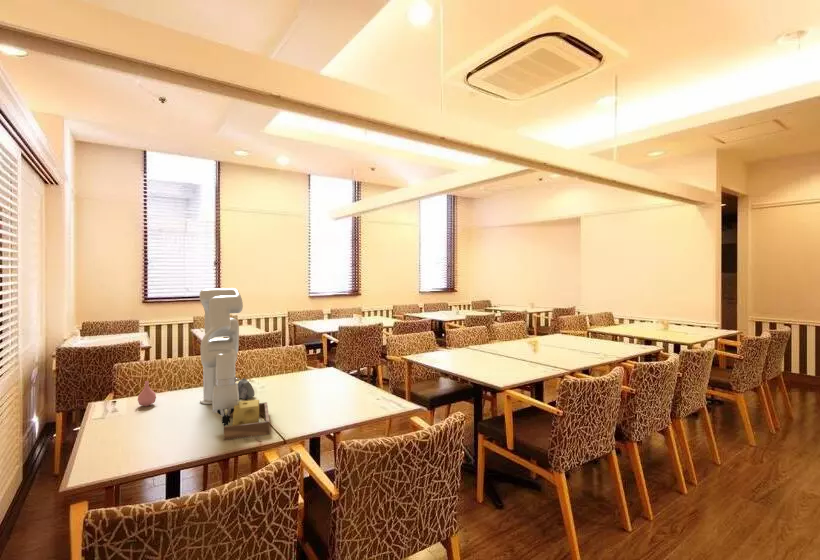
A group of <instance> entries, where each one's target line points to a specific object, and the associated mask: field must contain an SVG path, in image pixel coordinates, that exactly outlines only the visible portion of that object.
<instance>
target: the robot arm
mask: <svg viewBox="0 0 820 560" xmlns="http://www.w3.org/2000/svg"><path fill="white" fill-rule="evenodd" d="M199 301H200V304H201V306H202V308H203V310H204V335H203V337H202V339H201V342H200V346H199V347H200V363H201V365H202V368H203V369H202V371H203V372H202V375H203V376H202V377H203V381H202V384H203V386H202V387H203V388H202V389H203V393H202V394H203V397H201V398H200V399H199V403H201V404H203V405H212V409H211V412H212V413H215V414H216V413H217V414H218V415H220V416H221V424H223V427H225V426H229V423H231V418H230V415H231V413H232V412H233V411H234V406H236V405H239V401H240V397H239V390H238V382H239V381H240V377H237V376H236V363H237V362H236V361H238V353H239V347H240V346H239V343H240V325H239V321H238V319H237V318H234V317H231V315H230V314H240V313H242V312H243V307H244V304H243V302H244V301H243V298H242V296H241V293H240V291H239V290H238V289H237V288H235V287H229V288H228V287H226V288H225V287H223V288H222V287H220V288H219V287H218V288H217V287H216V288H211V287H210V288H205V289H204V288H203V289H202V290H200V292H199ZM224 337H225V338H224ZM227 409H228V413H225V410H227Z"/></svg>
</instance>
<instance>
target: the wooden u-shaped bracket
mask: <svg viewBox="0 0 820 560" xmlns="http://www.w3.org/2000/svg"><path fill="white" fill-rule="evenodd" d="M226 412H227V413H228V409H226ZM227 413H226V414H227ZM233 413H234V411H233V412H232V413H231V415H230V419H233ZM261 415H264V421H259V422H257V423H249V424H241V425H233V426H232V425H225V426H223V441H227V440H230V441H231V440H235V439H242V438H250V437H251V436H252V437H258V436H257V435H259V436H265V435H270V433H271V432H270V430H271V429H270V414H269V407H268V402H267V401H265V402H259V416H261Z"/></svg>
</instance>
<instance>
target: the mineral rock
mask: <svg viewBox="0 0 820 560" xmlns="http://www.w3.org/2000/svg"><path fill="white" fill-rule="evenodd" d="M237 384H238V390H239V399H242V400H248V399H252V398H254V397H255V390H254V386H252V384H251V383H250V381H248V380H247V378H245V377H243V378H242V379H239V381H237Z"/></svg>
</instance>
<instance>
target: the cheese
mask: <svg viewBox="0 0 820 560" xmlns="http://www.w3.org/2000/svg"><path fill="white" fill-rule="evenodd" d="M259 403H260V399H251V400H239V405H236V406H234V413H233V418H232V424H231V426H233V425H241V424H249V423H257V422H260V415H259Z"/></svg>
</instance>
